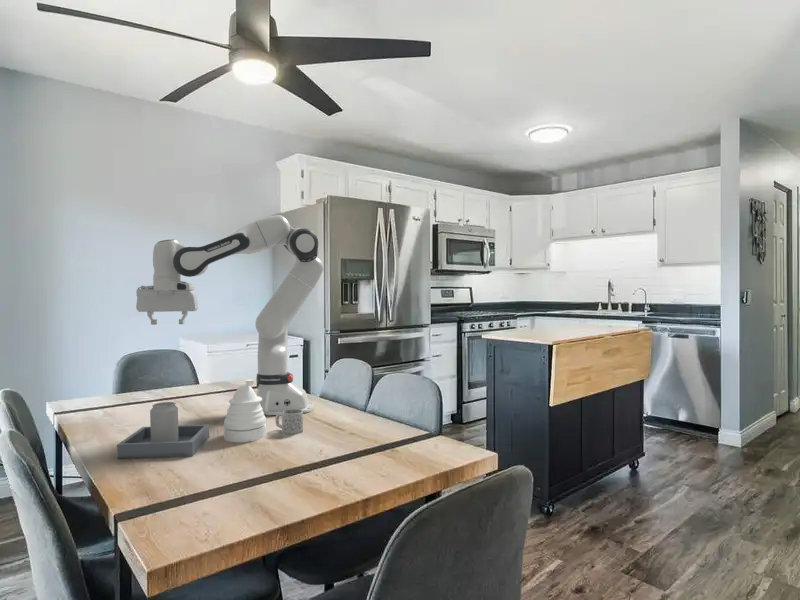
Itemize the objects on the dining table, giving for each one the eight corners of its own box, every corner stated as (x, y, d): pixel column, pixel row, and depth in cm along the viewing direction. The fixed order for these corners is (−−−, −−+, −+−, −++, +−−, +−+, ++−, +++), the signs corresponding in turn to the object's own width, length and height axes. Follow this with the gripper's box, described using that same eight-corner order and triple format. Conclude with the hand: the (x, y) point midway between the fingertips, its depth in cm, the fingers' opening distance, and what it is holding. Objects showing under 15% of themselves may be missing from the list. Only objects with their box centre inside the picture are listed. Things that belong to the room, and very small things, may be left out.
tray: (209, 437, 161) (209, 424, 160) (192, 456, 143) (192, 442, 143) (143, 439, 158) (142, 426, 158) (117, 459, 141) (117, 444, 140)
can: (166, 448, 146) (165, 407, 146) (144, 446, 148) (144, 405, 148) (184, 441, 153) (183, 401, 153) (163, 439, 155) (162, 400, 155)
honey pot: (274, 432, 166) (273, 377, 165) (250, 444, 154) (249, 384, 153) (240, 428, 170) (240, 375, 169) (215, 440, 158) (214, 382, 157)
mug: (306, 430, 168) (306, 410, 168) (294, 435, 162) (294, 414, 162) (282, 426, 172) (282, 407, 172) (269, 432, 166) (269, 411, 166)
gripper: (132, 285, 177) (133, 325, 177) (193, 285, 179) (194, 324, 179) (139, 285, 183) (140, 324, 183) (198, 285, 185) (199, 323, 186)
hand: (167, 324), depth 181 cm, fingers open, 8 cm apart
